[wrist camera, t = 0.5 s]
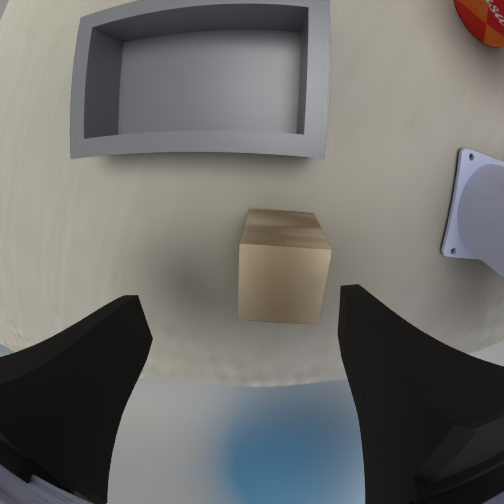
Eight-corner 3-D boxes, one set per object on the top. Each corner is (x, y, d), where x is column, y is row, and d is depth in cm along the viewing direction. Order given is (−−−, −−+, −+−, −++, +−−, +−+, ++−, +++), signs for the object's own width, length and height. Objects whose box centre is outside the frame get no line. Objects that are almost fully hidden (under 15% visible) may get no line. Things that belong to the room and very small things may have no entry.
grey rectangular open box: (316, 24, 13) (329, -6, 9) (311, 152, 16) (324, 158, 12) (116, 34, 13) (80, 17, 9) (110, 150, 17) (70, 158, 13)
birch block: (313, 212, 18) (331, 249, 12) (306, 270, 19) (318, 324, 14) (249, 208, 18) (239, 243, 12) (247, 266, 20) (237, 319, 14)
